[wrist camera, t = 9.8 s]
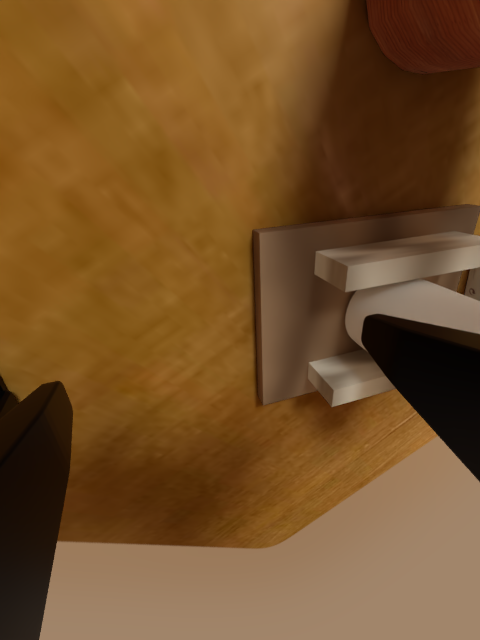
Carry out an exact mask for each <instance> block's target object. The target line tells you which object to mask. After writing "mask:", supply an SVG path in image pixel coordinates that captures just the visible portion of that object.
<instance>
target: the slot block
mask: <svg viewBox="0 0 480 640" xmlns="http://www.w3.org/2000/svg"><path fill="white" fill-rule="evenodd" d="M479 213H480V206H477V205H469V204H465V205H456V206H448V207H440V208H431V209H423V210H414V211H406V212H398V213H389V214H381V215H373V216H364V217H356V218H347V219H339V220H331V221H322V222H314V223H305V224H297V225H289V226H280V227H272V228H264V229H255V230H253V249H254V281H255V313H256V345H257V377H258V397H259V399H260V400H261V402H262V404H263V405H267V404H270V403H274V402H278V401H281V400H285V399H289V398H293V397H296V396H300V395H304V394H307V393H311V392H315V391H319V392H320V394H321V395H322V396H323V397H324V398H325V400H326V401H327V402H328V403H329V404H330V406H331V407H334V406H338V405H341V404H345V403H348V402H352V401H355V400H359V399H362V398H366V397H369V396H372V395H376V394H379V393H383V392H386V391H390V390H393V389H396V388H395V387H394V386H393V384H392V383H391V382H390V381H389V380H388V378H387V377H386V376H385V375H384V373H383V372H382V370H381V369H380V368H379V366H378V365H377V364H376V362H375V361H374V360H373V358H372V357H371V356H370V354H369V353H368V352H367V351H366V350H364V349H363V348H362V347H361V346H359V345H358V344H357V343H356V342H355V341H354V340H352V339H351V337H350V336H349V335H348V333H347V330H346V325H345V315H346V309H347V306H348V303H349V301H350V299H351V297H352V295H353V294H354V292H355V291H356V290H360V289H365V288H371V287H376V286H381V285H387V284H392V283H398V282H403V281H408V280H414V279H419V278H421V279H424V280H426V281H429V282H431V283H434V284H437V285H439V286H442V287H444V288H447V289H449V290H452V291H455V292H456V291H457V287H458V284H459V281H460V277H461V274H462V270H467V269H472V268H478V267H480V236H477V235H473V233H474V230H475V226H476V223H477V220H478V216H479Z"/></svg>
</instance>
